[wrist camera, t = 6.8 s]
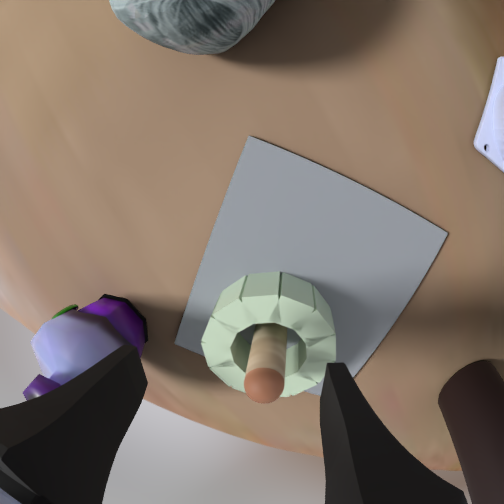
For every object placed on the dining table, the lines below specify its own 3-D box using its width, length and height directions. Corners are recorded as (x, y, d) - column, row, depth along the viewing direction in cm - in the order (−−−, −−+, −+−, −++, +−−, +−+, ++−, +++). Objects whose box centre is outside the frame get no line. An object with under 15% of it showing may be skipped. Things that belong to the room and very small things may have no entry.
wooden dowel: (291, 317, 20) (289, 390, 14) (282, 341, 21) (276, 414, 15) (260, 308, 20) (246, 380, 14) (252, 333, 21) (237, 405, 15)
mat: (445, 231, 17) (447, 233, 17) (334, 396, 23) (334, 399, 23) (249, 135, 17) (248, 135, 16) (176, 340, 23) (174, 343, 22)
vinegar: (423, 401, 23) (469, 584, 4) (473, 350, 20) (558, 536, 2) (459, 412, 23) (505, 563, 5) (503, 368, 21) (575, 518, 2)
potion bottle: (87, 256, 21) (-23, 343, 10) (181, 313, 22) (108, 444, 11) (73, 329, 24) (-2, 414, 13) (150, 377, 25) (96, 483, 14)
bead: (352, 300, 19) (360, 325, 17) (298, 381, 22) (298, 409, 20) (236, 252, 19) (227, 273, 16) (199, 345, 22) (189, 371, 19)
